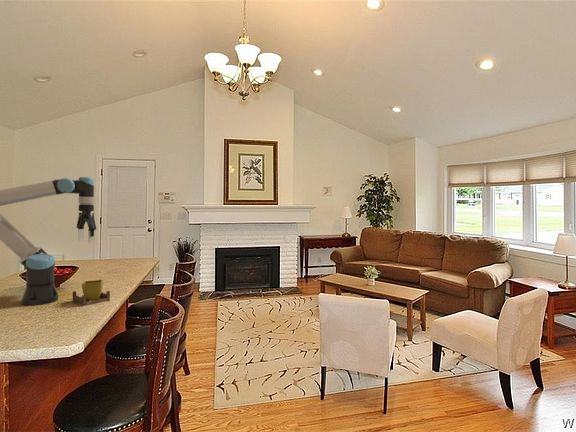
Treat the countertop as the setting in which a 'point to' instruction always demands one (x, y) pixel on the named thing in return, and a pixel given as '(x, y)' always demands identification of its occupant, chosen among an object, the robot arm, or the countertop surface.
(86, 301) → the rack
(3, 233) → the robot arm
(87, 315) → the countertop surface
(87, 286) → the flower pot
